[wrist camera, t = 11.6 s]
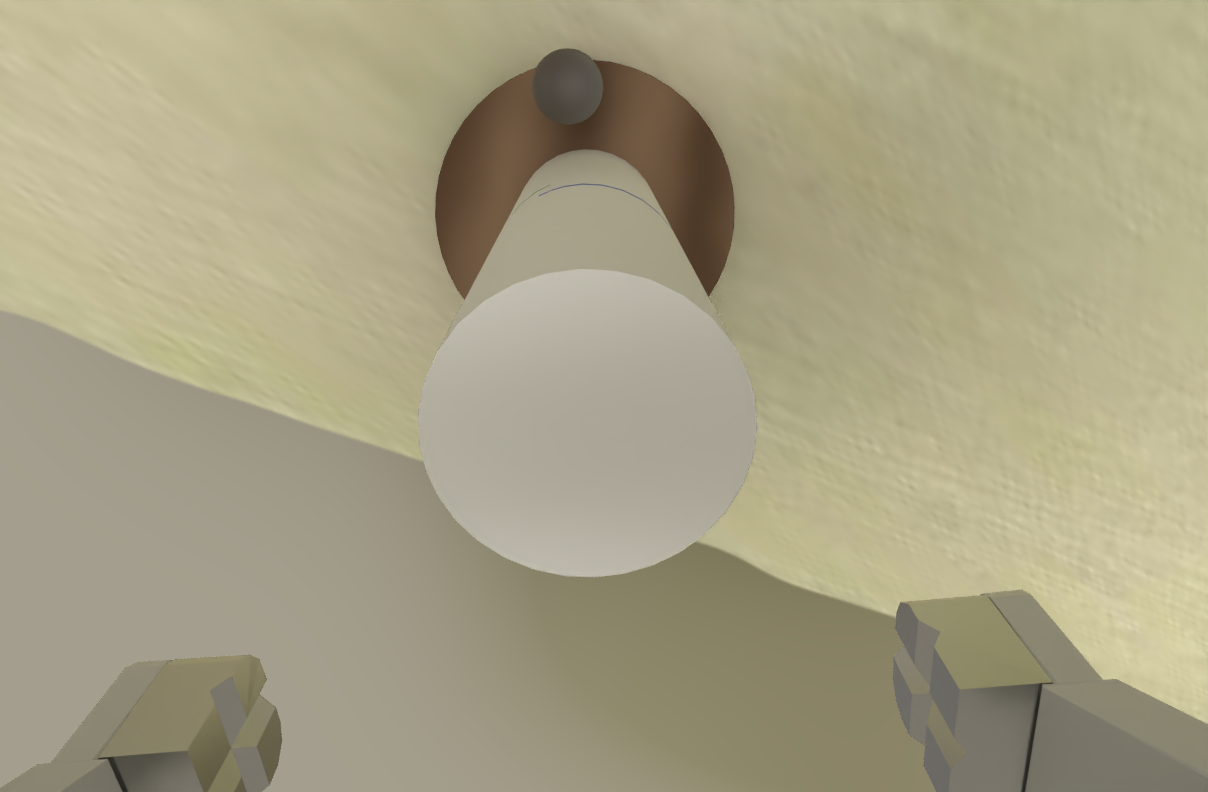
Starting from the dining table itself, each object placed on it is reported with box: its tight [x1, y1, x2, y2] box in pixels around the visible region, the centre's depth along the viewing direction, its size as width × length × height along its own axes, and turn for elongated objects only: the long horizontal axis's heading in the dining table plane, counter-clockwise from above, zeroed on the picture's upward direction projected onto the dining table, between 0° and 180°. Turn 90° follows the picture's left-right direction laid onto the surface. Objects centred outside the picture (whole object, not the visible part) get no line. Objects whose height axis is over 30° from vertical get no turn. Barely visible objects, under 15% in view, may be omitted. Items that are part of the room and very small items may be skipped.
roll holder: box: [435, 49, 734, 300], centre depth 36 cm, size 15×16×12 cm
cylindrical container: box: [418, 149, 757, 577], centre depth 28 cm, size 7×7×25 cm
